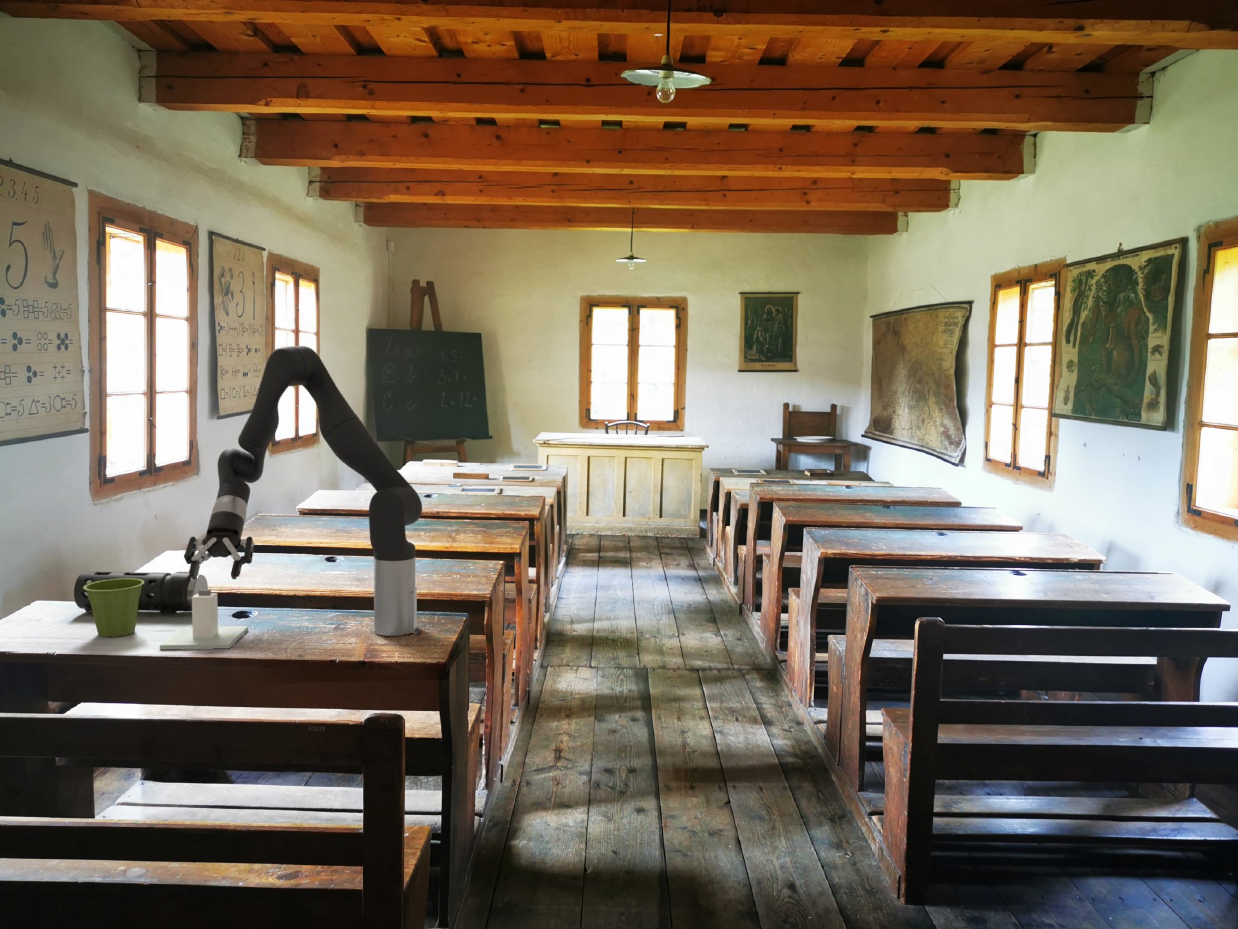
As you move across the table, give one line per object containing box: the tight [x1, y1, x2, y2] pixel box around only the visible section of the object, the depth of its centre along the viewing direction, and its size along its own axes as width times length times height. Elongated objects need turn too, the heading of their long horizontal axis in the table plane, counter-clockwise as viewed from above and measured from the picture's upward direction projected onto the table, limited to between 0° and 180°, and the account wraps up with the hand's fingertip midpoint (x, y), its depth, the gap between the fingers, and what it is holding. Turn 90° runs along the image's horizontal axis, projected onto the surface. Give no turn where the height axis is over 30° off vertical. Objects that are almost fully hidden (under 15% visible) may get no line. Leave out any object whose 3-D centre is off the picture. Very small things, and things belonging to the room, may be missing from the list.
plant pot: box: [83, 578, 144, 638], centre depth 200 cm, size 12×12×11 cm
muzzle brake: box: [73, 570, 209, 615], centre depth 218 cm, size 10×28×10 cm, turn 91°
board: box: [159, 625, 249, 650], centre depth 198 cm, size 14×14×1 cm
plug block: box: [191, 589, 219, 638], centre depth 197 cm, size 4×4×10 cm
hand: (213, 577), depth 203 cm, fingers open, 8 cm apart
